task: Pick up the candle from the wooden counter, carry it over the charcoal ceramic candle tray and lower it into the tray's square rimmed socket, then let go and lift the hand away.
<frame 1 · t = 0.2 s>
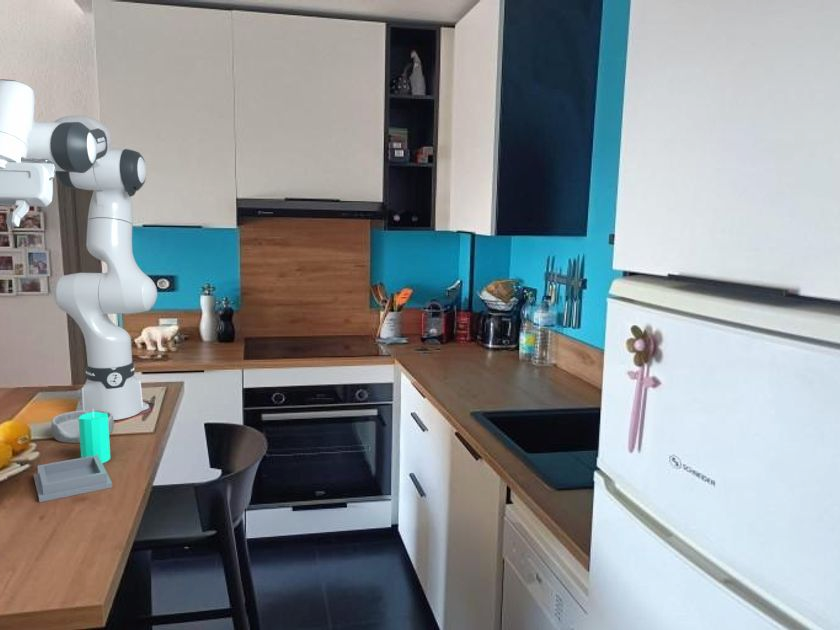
holder: (72, 482, 136), on the table
dish: (84, 436, 163), on the table
candle: (96, 460, 148), on the table
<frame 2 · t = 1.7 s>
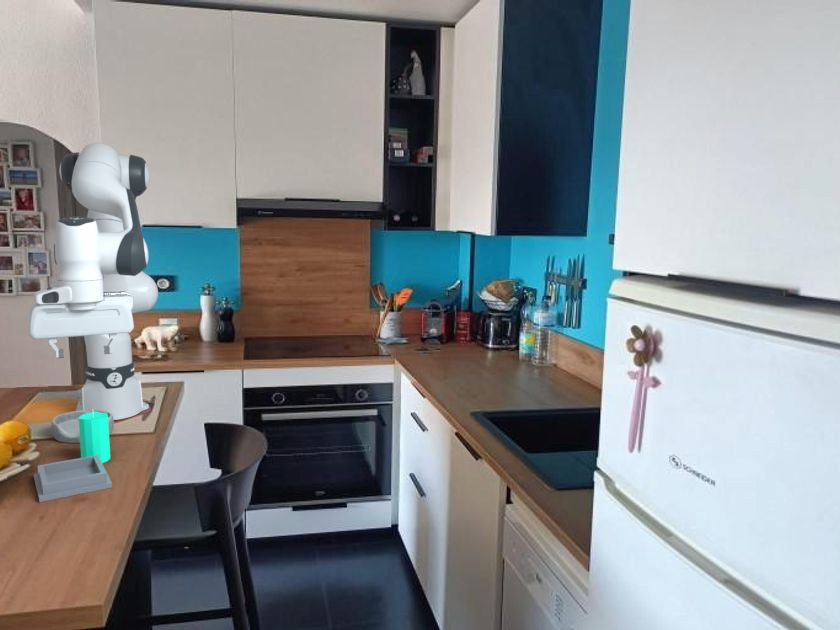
hand: (84, 355, 142), 25 cm above the table, tool pointing down, fingers open, 8 cm apart
nothing on the table moved.
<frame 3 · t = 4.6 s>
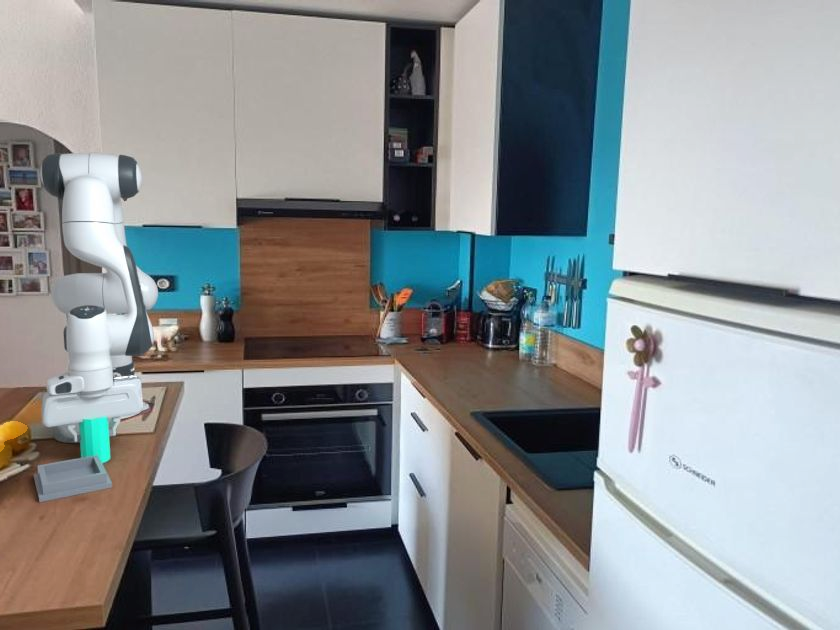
hand: (95, 438, 147), 5 cm above the table, tool pointing down, fingers closed on candle, 5 cm apart
candle: (96, 460, 148), on the table, touching gripper
everything else where it was.
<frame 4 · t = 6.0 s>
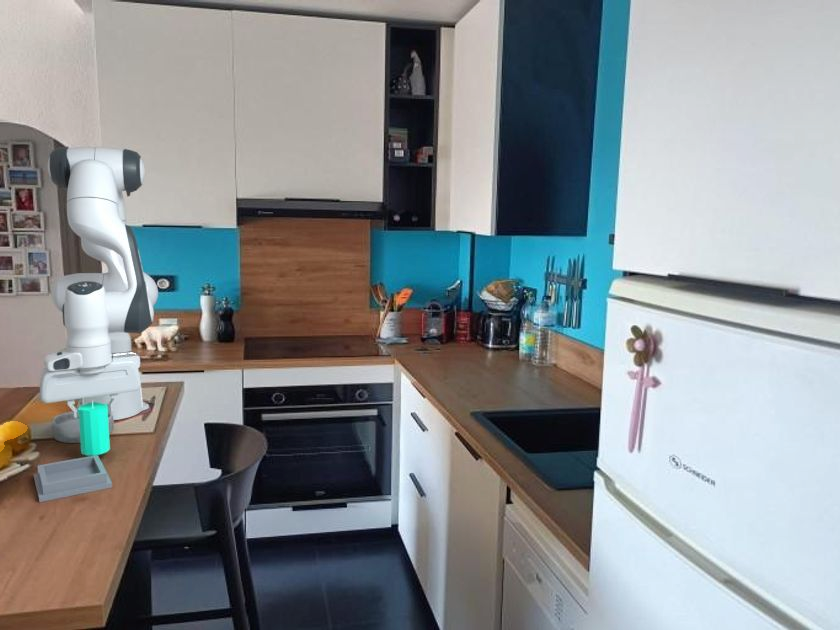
hand: (93, 414, 147), 10 cm above the table, tool pointing down, fingers closed on candle, 5 cm apart
candle: (95, 450, 148), point 2 cm above the table, touching gripper
everything else where it was.
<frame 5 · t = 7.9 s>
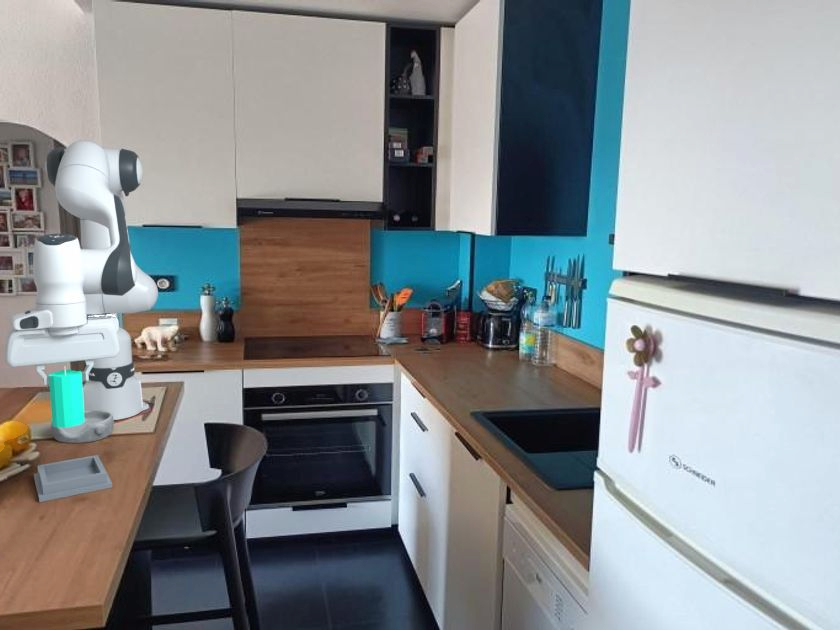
hand: (66, 383, 132), 22 cm above the table, tool pointing down, fingers closed on candle, 5 cm apart
candle: (68, 423, 133), point 13 cm above the table, touching gripper
everything else where it was.
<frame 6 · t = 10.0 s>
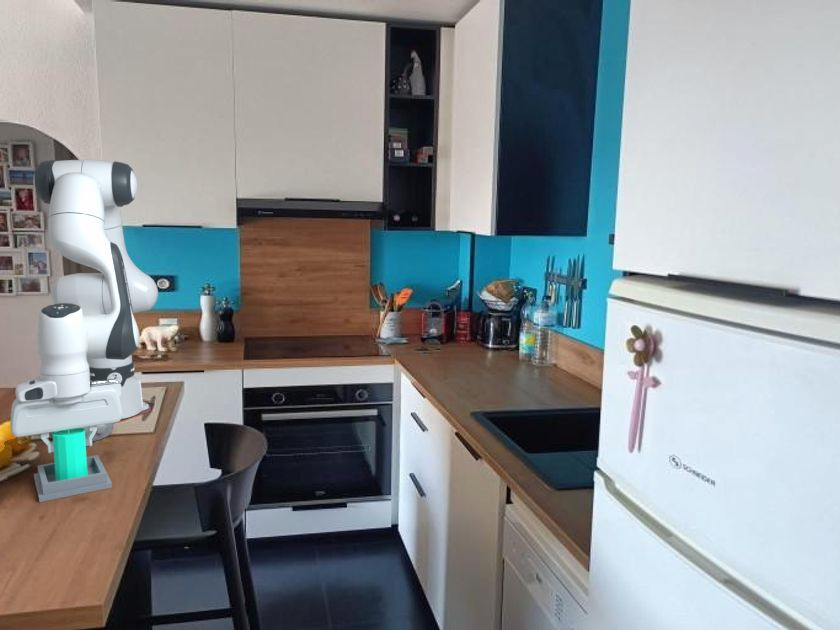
hand: (70, 448, 134), 8 cm above the table, tool pointing down, fingers closed on candle, 5 cm apart
candle: (71, 480, 135), point 1 cm above the table, touching gripper, holder
everything else where it was.
when the fingers open (7 cm above the table, at t = 10.8 s): candle stays where it is, resting on holder.
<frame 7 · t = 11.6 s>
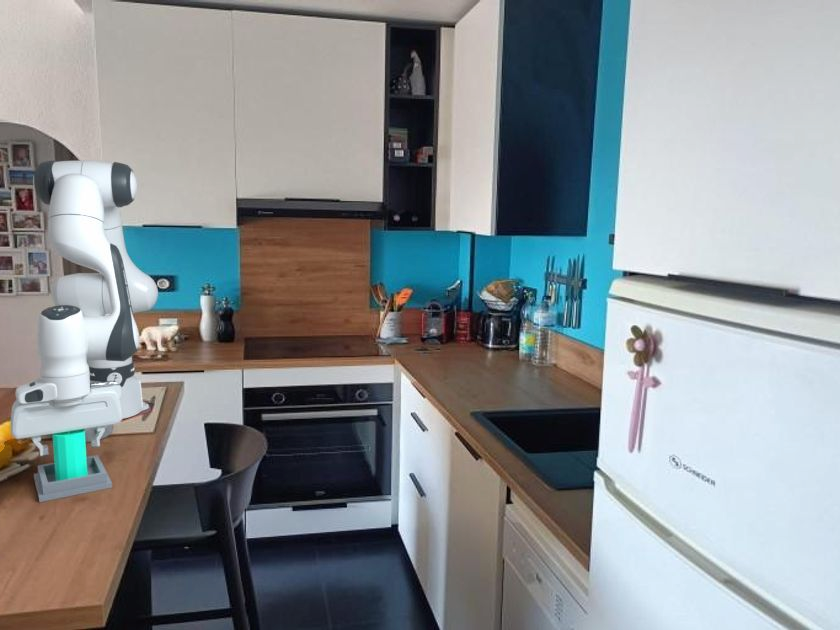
hand: (70, 450, 134), 7 cm above the table, tool pointing down, fingers open, 8 cm apart
candle: (71, 480, 135), point 1 cm above the table, touching holder
everything else where it was.
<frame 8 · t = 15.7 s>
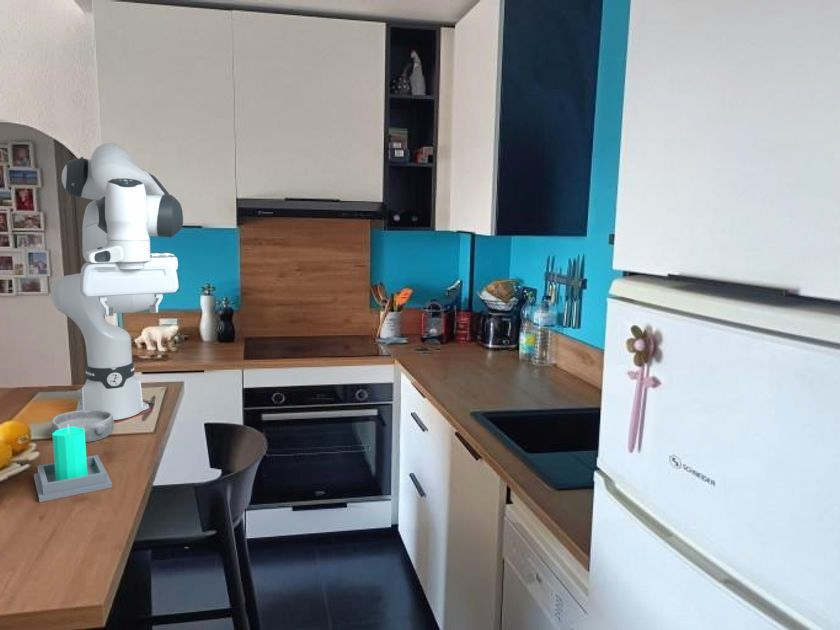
hand: (132, 314, 147), 33 cm above the table, tool pointing down, fingers open, 8 cm apart
nothing on the table moved.
at the end: candle 0.5 cm off-centre on the holder, point 0.8 cm above the holder's base; candle tilted 0°; the gripper is holding nothing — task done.
